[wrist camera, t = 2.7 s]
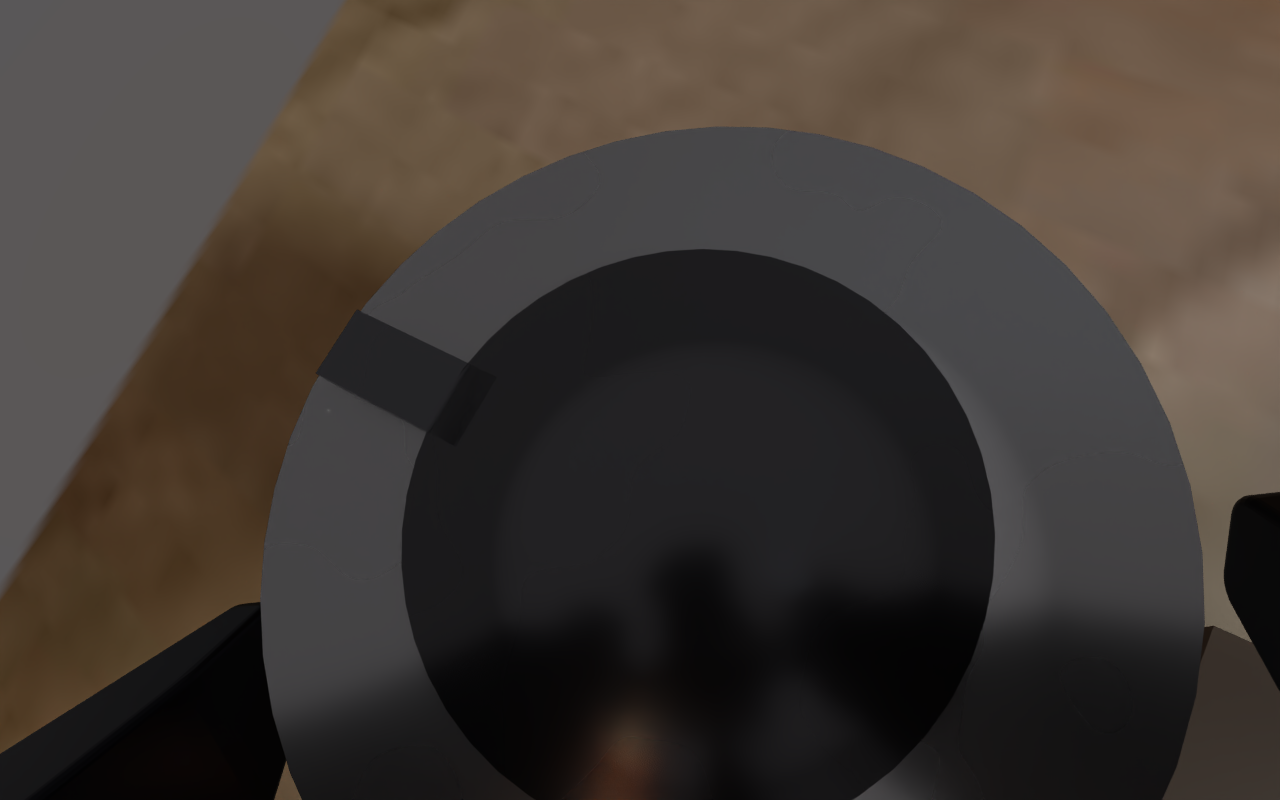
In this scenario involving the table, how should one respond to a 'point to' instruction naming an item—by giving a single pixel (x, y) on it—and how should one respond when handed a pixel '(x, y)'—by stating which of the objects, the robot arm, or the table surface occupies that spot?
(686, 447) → the silver metal cylinder
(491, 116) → the table surface
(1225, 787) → the walnut board
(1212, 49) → the table surface
